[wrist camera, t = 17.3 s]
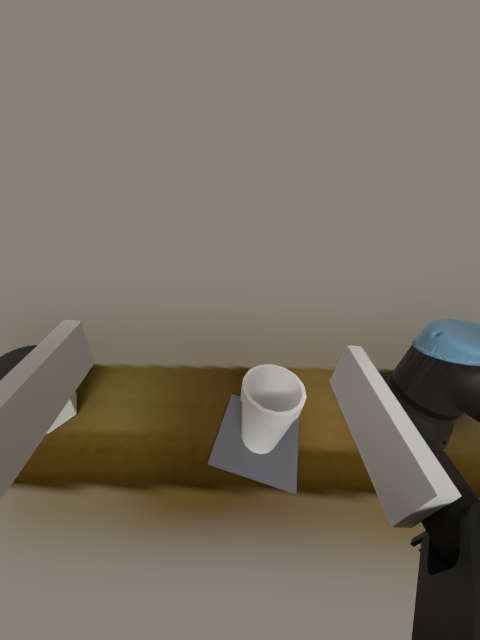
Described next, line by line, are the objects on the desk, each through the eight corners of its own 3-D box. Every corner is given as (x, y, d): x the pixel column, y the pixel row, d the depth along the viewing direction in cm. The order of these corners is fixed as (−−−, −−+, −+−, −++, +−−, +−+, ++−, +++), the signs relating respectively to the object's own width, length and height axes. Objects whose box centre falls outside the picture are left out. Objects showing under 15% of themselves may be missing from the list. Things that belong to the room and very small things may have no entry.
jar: (24, 399, 43) (-6, 349, 36) (78, 386, 46) (59, 338, 40) (14, 445, 36) (-24, 394, 30) (77, 425, 40) (56, 376, 33)
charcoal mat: (298, 415, 47) (299, 413, 47) (295, 493, 36) (296, 492, 35) (231, 395, 49) (231, 393, 49) (207, 464, 38) (207, 462, 37)
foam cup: (234, 409, 46) (243, 360, 39) (281, 415, 46) (299, 367, 39) (231, 461, 38) (241, 411, 31) (288, 467, 38) (312, 420, 31)
